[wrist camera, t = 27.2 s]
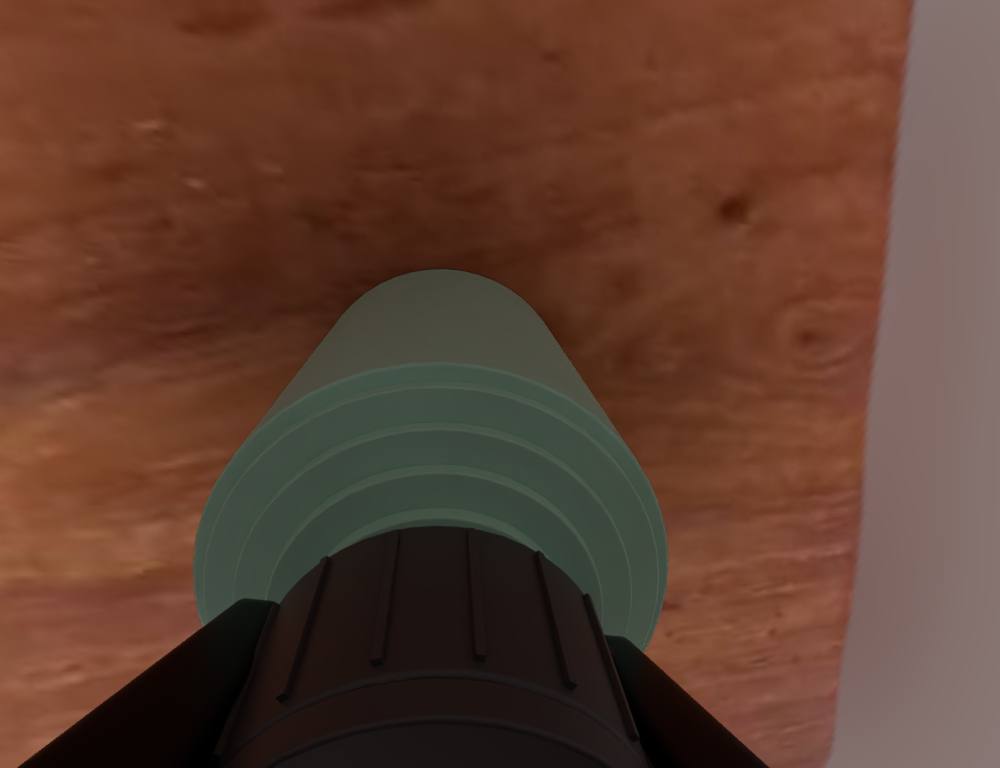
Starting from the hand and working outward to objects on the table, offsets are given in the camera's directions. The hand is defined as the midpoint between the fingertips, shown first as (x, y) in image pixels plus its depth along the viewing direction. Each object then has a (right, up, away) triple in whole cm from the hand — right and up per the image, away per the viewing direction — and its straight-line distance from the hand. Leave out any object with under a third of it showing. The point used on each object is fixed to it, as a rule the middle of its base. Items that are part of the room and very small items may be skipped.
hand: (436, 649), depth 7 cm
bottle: (-1, +3, +9) cm, 10 cm away
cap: (0, -1, -2) cm, 2 cm away
